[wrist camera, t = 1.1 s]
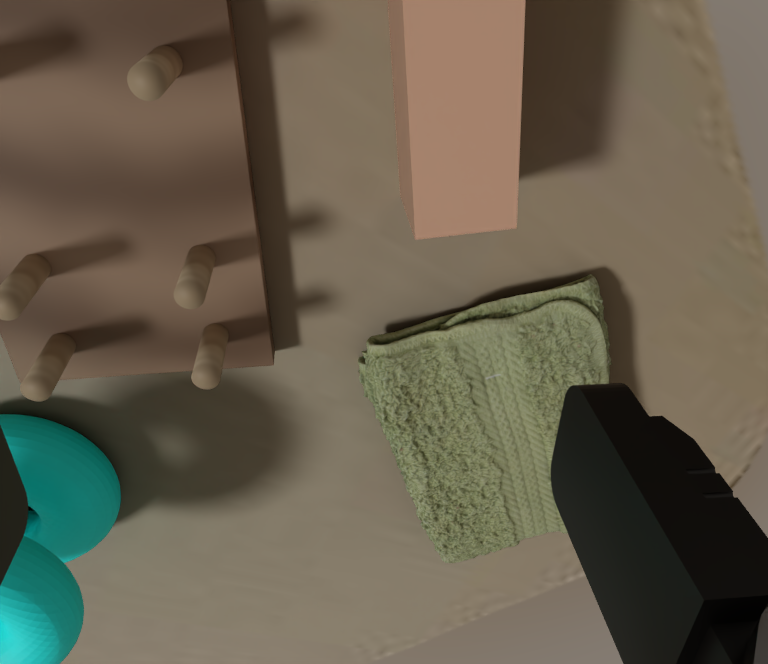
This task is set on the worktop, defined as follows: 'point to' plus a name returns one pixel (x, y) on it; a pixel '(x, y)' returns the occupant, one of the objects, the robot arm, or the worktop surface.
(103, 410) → the worktop surface
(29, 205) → the drying rack
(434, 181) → the pinkish tan rectangular block
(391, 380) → the washcloth
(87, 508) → the donuts
